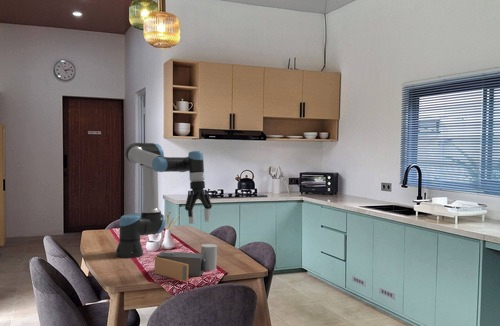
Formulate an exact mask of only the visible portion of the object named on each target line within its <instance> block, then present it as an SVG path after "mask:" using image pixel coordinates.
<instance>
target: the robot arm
mask: <svg viewBox="0 0 500 326" xmlns="http://www.w3.org/2000/svg"><path fill="white" fill-rule="evenodd" d="M187 155H188V156H185V157H183V156H182V157H178V156H177V157H175V156H173V157H172V156H171V157H170V156H169V157H166V156H165V153H164V149H163V147H162V146H161V145H160V144H159V143H154V142H150V143H149V142H133V143H130V144H129V145H127V146H126V147H125V149H124V157H125V159H126V161H128V162H130V163H133V164H139V166H140V168H141V169H142V182H143V183H142V187H143V189H142V192H143V199H142V200H143V209H142V211H140V213H139V212H137V213H136V212H134V213H126V214H123V215H121V216H120V218H119V224H118V225H119V232H118V233H119V235H118V236H119V237H118V238H119V240H118V241H119V242H118V245H117V248H116V249H115V256H116V257H118V258H124V259H126V258H127V259H131V258H133V259H134V258H140V257H143V256H144V250H143V246H142V243H141V237H142V236H149V235H158V234H161V233H162V232H163V231H164V229H165V227H166V218H165V216H164V214H163V213H162V210H160V209H159V177H158V176H159V174H158V173H165V172H166V173H167V172H168V173H169V172H173V173H174V172H176V173H177V172H179V173H186V172H189V181H190V182H189V186H190V190H188V191H187V198H186V202H185V206H184V210H186V211H187V216H188V224H189V225H190V224H195V211H194V210H193V209H194V206H195V205H196V201H197V200H199V201H200V203H201V204H202V206H203V207H204V208H203V213H204V222H210V221H211V219H210V209H212V207H213V205H212V202H211V199H210V197H209V196H210V195H209V193H208V192H209V191H208V190H207V189H205V188H206V182H205V165H204V163H205V162H204V154H203V151H201V150H192V151H189V152H188V154H187ZM204 189H205V190H204Z"/></svg>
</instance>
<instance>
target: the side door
mask: <svg viewBox="0 0 500 326" xmlns="http://www.w3.org/2000/svg"><path fill="white" fill-rule="evenodd" d="M188 269H189V264H185V263H180V262H176V261H172V260H167V259H163V258H159V257H157V256H154V274H157V275H159V276H164V277H167V278H171V279H175V280H179V281H181V282H182V281H183V282H186V283H187V282H188V283H189V276H188Z"/></svg>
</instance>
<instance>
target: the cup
mask: <svg viewBox="0 0 500 326" xmlns="http://www.w3.org/2000/svg"><path fill="white" fill-rule="evenodd" d="M217 251H218V245H217V244H215V243H203V244H201V246H200V253H202V254H205V259H206V261H207V265H206V270H205V271H215V270H216V269H217V256H218V252H217Z"/></svg>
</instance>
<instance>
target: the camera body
mask: <svg viewBox="0 0 500 326" xmlns="http://www.w3.org/2000/svg"><path fill="white" fill-rule="evenodd" d="M156 257H159V258H163V259H167V260H172V261H176V262H180V263H185V264H189V269H188V277H201V276H202V275H203V273H204V272H206V271H207V270H206V265H207V261H206V259H205V254H202V253H201V252H200V253H199V252H198V253H197V252H184V251H183V252H181V251H165V250H164V251H161V252H160V253H158V254H157V255H156Z"/></svg>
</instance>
